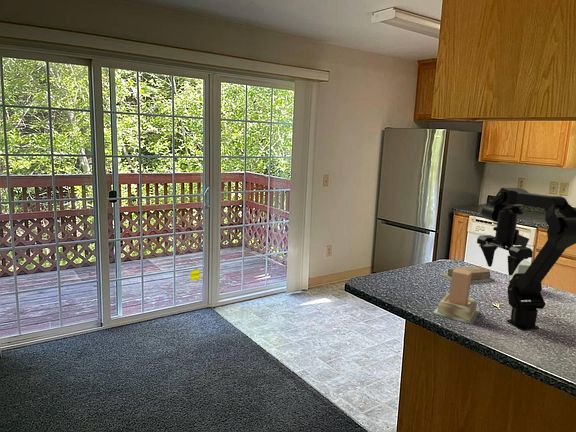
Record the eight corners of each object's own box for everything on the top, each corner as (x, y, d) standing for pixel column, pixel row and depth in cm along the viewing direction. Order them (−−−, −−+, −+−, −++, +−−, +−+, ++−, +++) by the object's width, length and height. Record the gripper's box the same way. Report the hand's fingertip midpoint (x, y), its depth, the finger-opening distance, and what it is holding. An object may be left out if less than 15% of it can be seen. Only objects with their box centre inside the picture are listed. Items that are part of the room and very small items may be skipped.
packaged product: (477, 263, 182) (495, 271, 173) (476, 274, 183) (493, 282, 174) (442, 265, 177) (458, 273, 167) (440, 277, 178) (457, 285, 168)
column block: (467, 303, 140) (472, 271, 138) (464, 307, 136) (468, 275, 134) (452, 299, 143) (456, 267, 141) (448, 303, 139) (452, 271, 137)
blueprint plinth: (479, 312, 142) (481, 299, 141) (472, 324, 132) (474, 311, 131) (442, 302, 149) (444, 291, 148) (432, 313, 139) (434, 301, 138)
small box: (530, 292, 163) (535, 266, 161) (514, 291, 164) (518, 264, 162) (523, 285, 170) (527, 260, 168) (508, 284, 171) (512, 258, 169)
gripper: (549, 231, 135) (541, 278, 138) (504, 219, 152) (498, 261, 156) (521, 232, 132) (514, 280, 135) (478, 219, 149) (472, 262, 152)
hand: (499, 270), depth 144 cm, fingers open, 9 cm apart
